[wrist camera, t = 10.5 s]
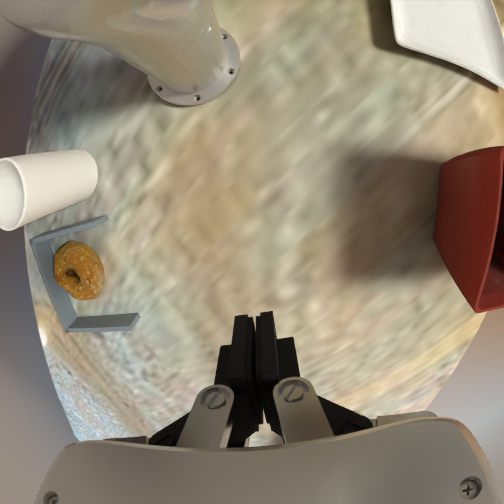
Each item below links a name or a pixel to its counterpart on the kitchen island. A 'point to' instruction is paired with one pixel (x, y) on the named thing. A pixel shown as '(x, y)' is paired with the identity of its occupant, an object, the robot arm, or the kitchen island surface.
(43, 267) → the box
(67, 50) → the kitchen island surface
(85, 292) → the bagel
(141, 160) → the kitchen island surface
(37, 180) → the cup
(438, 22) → the square plate
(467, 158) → the plant pot
